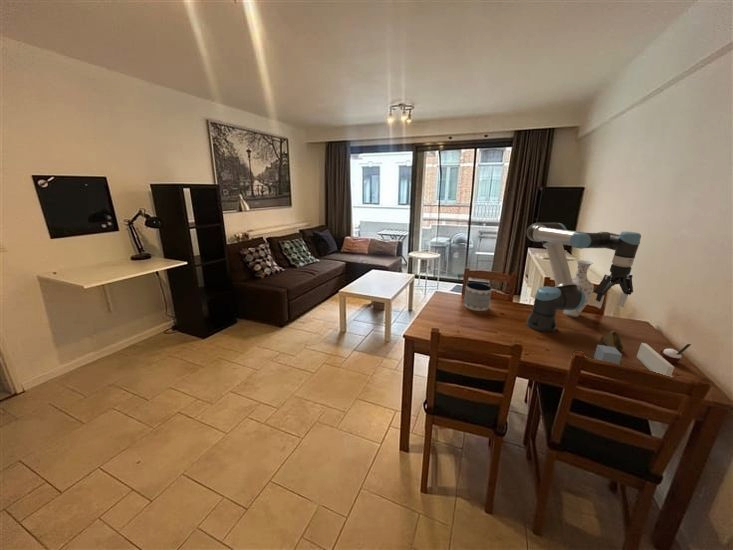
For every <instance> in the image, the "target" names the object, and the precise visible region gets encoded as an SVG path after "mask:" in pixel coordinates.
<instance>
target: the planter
mask: <svg viewBox="0 0 733 550" xmlns="http://www.w3.org/2000/svg"><path fill="white" fill-rule="evenodd" d="M492 289H493V288H492V287H491V286H490V285H489V284H487V283H481V282H469V283H466V285H465V291H464V299H463V307H464V308H467V309H469V310H471V311H475V312H484V311H487V310H489V308H490V304H491V303H490V301H491V297H492V296H491V295H492Z"/></svg>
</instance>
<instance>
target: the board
mask: <svg viewBox="0 0 733 550" xmlns="http://www.w3.org/2000/svg"><path fill="white" fill-rule="evenodd" d="M636 359H637V360H638V361H639V362H641V364H642V365H643V366H645V367H646V368H647V369H648V371H650V372H651V371H653V372H656V373H660V374H663V375H666V376H670V377H674V376H673V372H674V369H675V366H674V365H673V364H672V363H669V362H668V361H666V360H665V359H664V358H663V357H662V355H661V354H660V353H658V352H657V351H655V350H654V349H653V347H651V346H650V345H649V344H648V343H645V342H641V344H640V346H639V348H638V352H637V355H636Z"/></svg>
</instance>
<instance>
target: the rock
mask: <svg viewBox="0 0 733 550" xmlns="http://www.w3.org/2000/svg"><path fill="white" fill-rule="evenodd" d="M600 342H602V343H603V345H605V346H610V347H615V348H616V349H617V350H618V351H619V352H620V353H623V352H624V346H623V344H622V342H621V338H620V337H619V334H618V333H617V331H616V330H612V331H609V332H605V333H603V334H602V336H600Z"/></svg>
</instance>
